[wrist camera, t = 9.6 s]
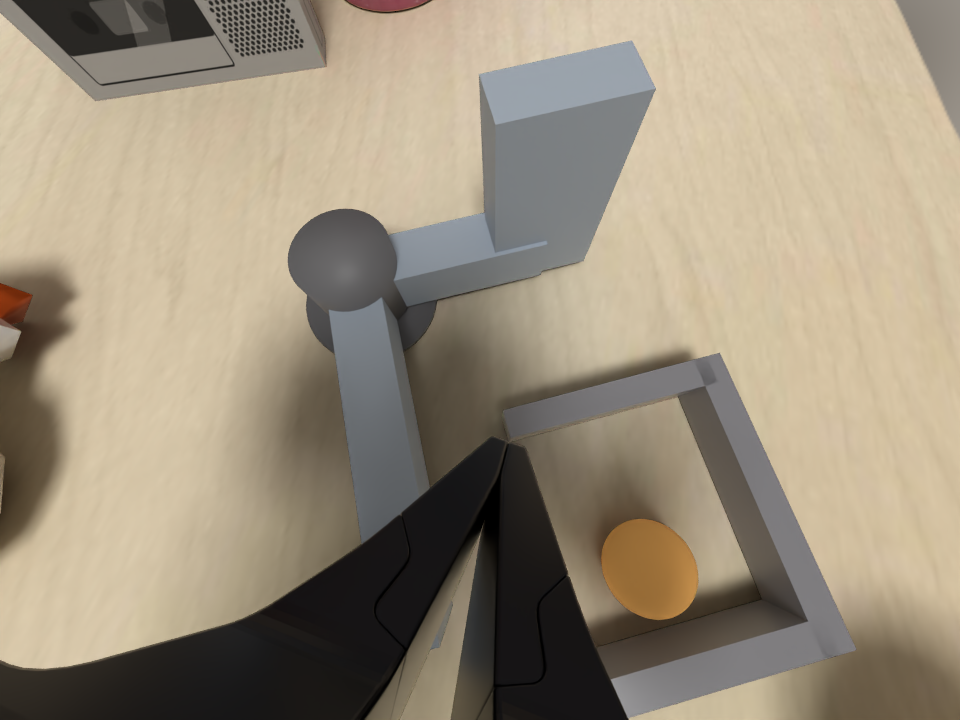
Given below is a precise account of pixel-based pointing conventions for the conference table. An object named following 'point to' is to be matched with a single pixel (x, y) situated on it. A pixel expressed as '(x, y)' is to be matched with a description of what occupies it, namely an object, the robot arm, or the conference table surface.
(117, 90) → the cassette player
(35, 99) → the conference table surface
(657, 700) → the pocket
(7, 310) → the potion bottle
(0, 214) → the conference table surface
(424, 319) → the pivot plate
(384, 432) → the lever
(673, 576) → the ball
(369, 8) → the plant pot
